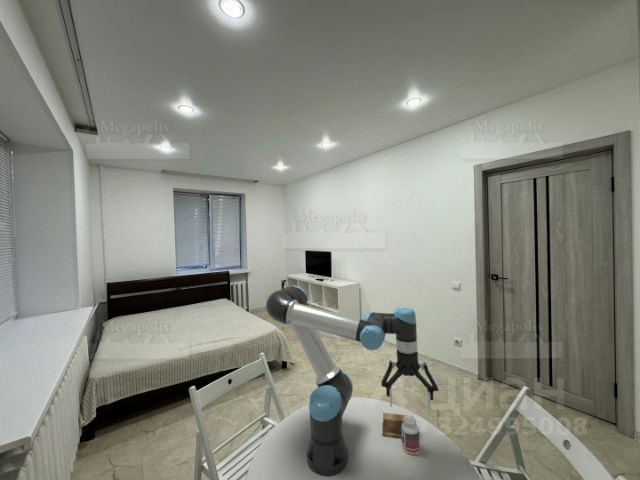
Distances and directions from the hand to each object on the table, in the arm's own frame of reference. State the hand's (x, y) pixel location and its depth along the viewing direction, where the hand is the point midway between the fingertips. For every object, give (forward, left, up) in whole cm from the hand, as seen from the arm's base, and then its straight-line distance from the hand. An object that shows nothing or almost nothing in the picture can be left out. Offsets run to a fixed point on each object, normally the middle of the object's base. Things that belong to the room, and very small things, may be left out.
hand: (409, 406), depth 99 cm
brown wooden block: (-4, +8, -16) cm, 18 cm away
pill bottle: (0, 0, -16) cm, 16 cm away
